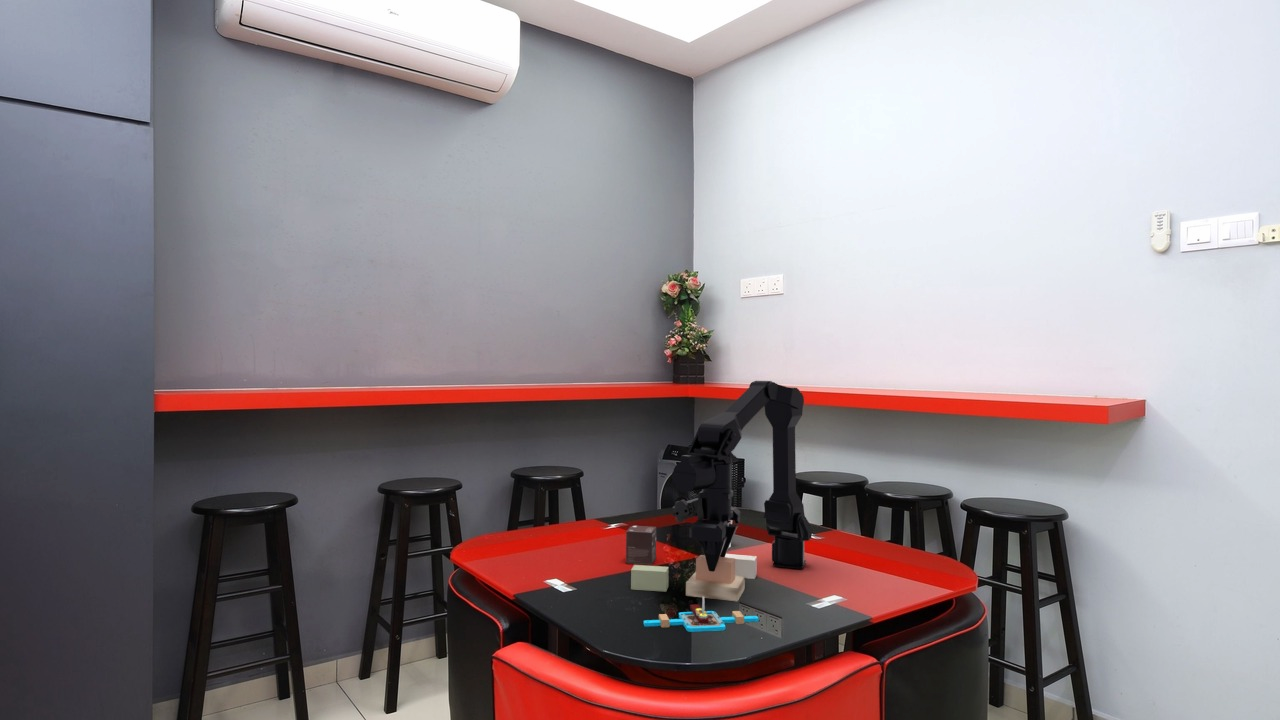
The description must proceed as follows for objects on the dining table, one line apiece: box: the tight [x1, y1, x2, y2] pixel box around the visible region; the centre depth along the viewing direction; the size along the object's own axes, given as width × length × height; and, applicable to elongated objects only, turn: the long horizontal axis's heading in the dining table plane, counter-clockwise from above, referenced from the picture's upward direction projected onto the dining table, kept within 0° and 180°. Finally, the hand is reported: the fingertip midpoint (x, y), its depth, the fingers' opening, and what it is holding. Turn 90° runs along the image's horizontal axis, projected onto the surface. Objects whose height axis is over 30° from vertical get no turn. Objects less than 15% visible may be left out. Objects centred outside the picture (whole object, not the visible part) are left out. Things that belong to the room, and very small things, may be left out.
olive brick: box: [630, 564, 670, 593], centre depth 140 cm, size 7×4×4 cm, turn 81°
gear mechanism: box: [643, 597, 760, 633], centre depth 122 cm, size 20×5×9 cm
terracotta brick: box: [695, 554, 735, 584], centre depth 138 cm, size 7×4×4 cm, turn 70°
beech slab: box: [685, 571, 746, 602], centre depth 138 cm, size 10×8×3 cm
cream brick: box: [725, 553, 758, 580], centre depth 149 cm, size 7×4×4 cm, turn 74°
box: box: [625, 525, 657, 566], centre depth 160 cm, size 6×6×7 cm
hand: (716, 566), depth 138 cm, fingers open, 7 cm apart
